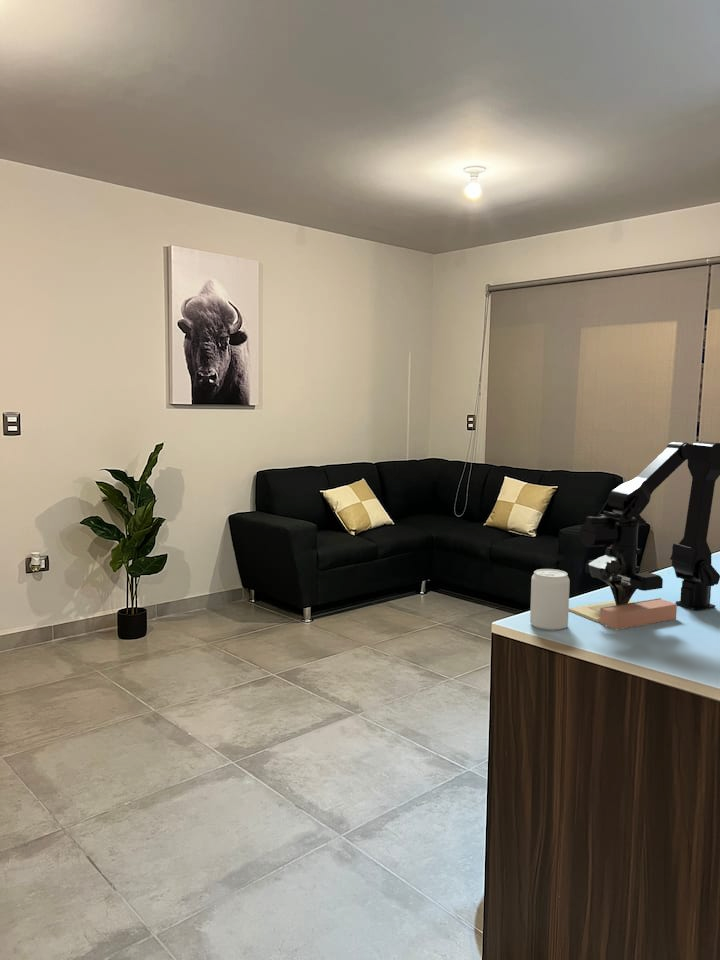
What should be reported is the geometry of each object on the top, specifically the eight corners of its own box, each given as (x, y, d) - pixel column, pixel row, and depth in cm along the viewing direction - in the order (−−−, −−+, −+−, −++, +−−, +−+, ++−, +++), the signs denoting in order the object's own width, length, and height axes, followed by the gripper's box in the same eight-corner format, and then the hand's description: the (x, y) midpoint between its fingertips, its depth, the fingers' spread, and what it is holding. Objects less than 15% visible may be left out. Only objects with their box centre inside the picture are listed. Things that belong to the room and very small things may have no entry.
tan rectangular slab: (625, 601, 181) (625, 598, 181) (657, 612, 172) (657, 609, 172) (568, 610, 173) (568, 607, 173) (598, 622, 164) (598, 619, 164)
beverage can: (569, 633, 157) (571, 578, 156) (530, 630, 159) (532, 576, 157) (566, 621, 165) (568, 569, 164) (529, 619, 167) (531, 567, 165)
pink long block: (658, 613, 171) (659, 598, 171) (676, 619, 167) (677, 603, 166) (599, 623, 164) (600, 607, 163) (616, 629, 159) (617, 613, 159)
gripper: (568, 539, 172) (565, 603, 174) (627, 555, 156) (624, 626, 158) (604, 535, 177) (601, 598, 179) (666, 551, 160) (662, 620, 162)
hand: (620, 610), depth 169 cm, fingers closed
